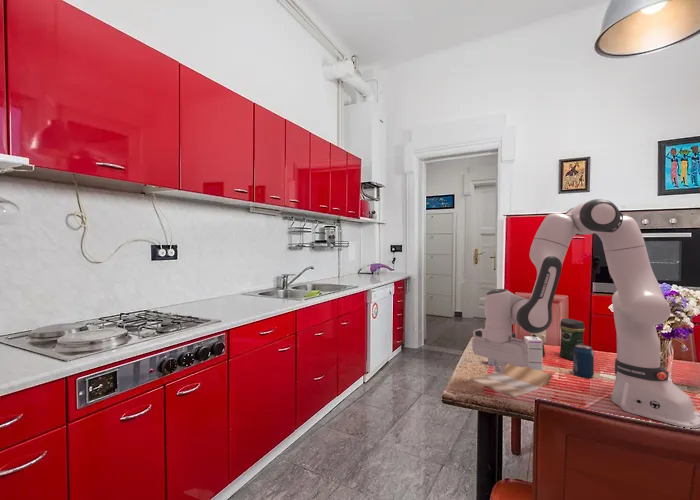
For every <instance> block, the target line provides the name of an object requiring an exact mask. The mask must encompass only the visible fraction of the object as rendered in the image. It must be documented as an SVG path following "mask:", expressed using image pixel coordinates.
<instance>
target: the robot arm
mask: <svg viewBox="0 0 700 500" xmlns="http://www.w3.org/2000/svg"><path fill="white" fill-rule="evenodd" d="M592 234H595V235H596V236H598V238H599V239H600V241H601V242H602V247H603V252H604V255H605V261H606V265H607V267H608V268H607V269H608V273H609V275H610V277H611V279H612V282H613V284H614V285H615V288H616V291H615V292H613V295H612V296H611V297H612V298H611V304H612V308H613V309H612V310H613V319H614V320H613V321H614V326H615V331H616V358H615V360H614V374H615V381H614V386H613V391H612V393H611V395H610V401H611V402H613V403H614V404H615V405H616V406H618V407H620V409H621V410H623V412H626V413H630V414H633V415H637V416H641V417H643V418H644V417H645V418H648V419H651V420H656V421H659V422H663V423H665V424H670V425H673V426H677V427H680V428H683V427H685V428H684V429H688V428H692V429H699V428H700V412H697V411H696V410H695V407H694V404H693V400H692V398H691V397H690V395H688V394H687V393H686V392H684V391H683V390H682V389H681V388H679V386H677V385H675V384H674V383H673V382H672V381H670V380H669V375H670V369H665V368H664V367H663V366H661V340H660V338H659V334H658V332H657V326H659V325H661V324H663V323H665V322H667V320H668V319H669V318H670V316H671V313H672V312H671V311H672V310H671V306H670V305H669V302H668V301H667V300H666V298H665V296H664V294H663V290H662V289H661V285H660V283H659V282H658V280H657V278H656V276H655V273H654V271H653V268H652V266H651V261H650V257H649V254H648V251H647V250H648V249H647V246H646V242H645V239H644V237H643V234H642V232H641V229H640V227H639V224H638V223H637V221H636V220H635V219H634V218H633V217H631V216H629V215H624V214H623V213H622V212H621V211H620V209H619V208H618V206H616V204H615V203H614V202H612V201H611V200H608V199H603V198H598V199H591V200H588V201H584V202H581V203H579V204H578V205H576V206H574V207H572V208H570V209H569V210H567V211H566V212H565V213H561V212H560V213H559V212H553V213H549V214H548V215H546V216H545V217H544V219H543V221H542V222H541V224H540V226H539V227H538V229H537V230H536V233H535V234H534V237H533V240H532V243H531V246H530V250H529V259H530V261H531V262H532V264H533V265H534V267H535V269H536V280H535V282H534V286H533V289H532V292H531V294H530V298H526V297H522V296H519V295H517V294H514V293H513V292H511V291H509V290H508V289H506V288H497V289H492V290H490V291H489V290H488V292H487V293H486V294H485V297H484V316H485V323H484V327H482V328H478V329H475V330H473V331H472V335H473V337H472V345H471V346H472V347H471V351H472V352H473V355H476V356H479V357H480V356H481V357H484V358H487V359H488V358H490V359H491V362H492V364H493V366H492V367H493V368H494V369H493V370H494V371H493V372H497V373H500V374H503V375H504V368H505V367H506V366H507V363H508V364H511V365H515V366H518V367H525V366H527V365H528V364H529V359H528V353H527V344H526V342H525V341H524V339H522V338H517V337H515V338H514V337H512V333H513V330H512V329H513V327H512V326H513V325H514V324H516V325H518V326H520V327H521V328H522V329H523V330H524V331H526V332H527V333H529V332H530V333H541V332H543V331H545V330H546V331H547V330H548V329H549V328H550V327H551V324H552V321H553V312H552V311H553V310H552V309H553V308H552V307H553V301H554V299H555V296H556V295H555V294H556V291H557V288H558V285H559V282H560V277H561V274H562V269H563V263H564V261H565V258H566V255H567V252H568V249H569V247H570V244H571V241H572V240H573V238H574V237H575V236H585V235H592ZM530 333H529V334H530ZM497 361H500V364H501V365H502V366H498V364H497Z"/></svg>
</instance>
